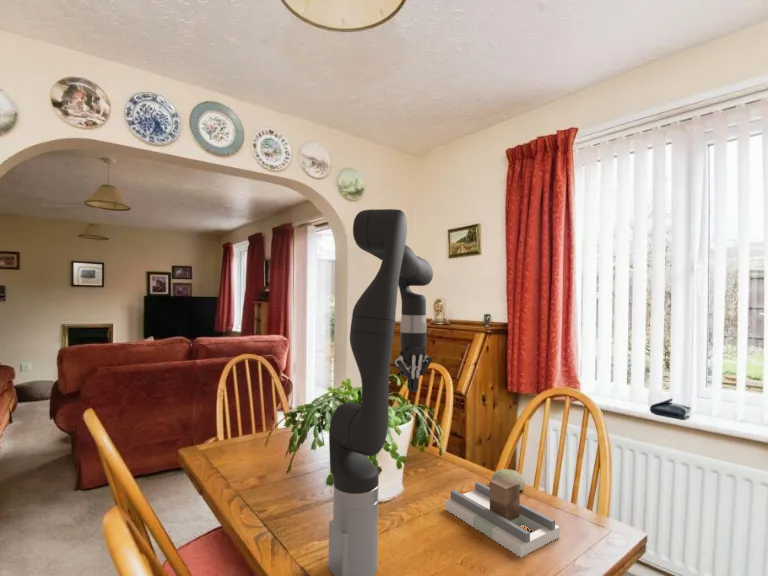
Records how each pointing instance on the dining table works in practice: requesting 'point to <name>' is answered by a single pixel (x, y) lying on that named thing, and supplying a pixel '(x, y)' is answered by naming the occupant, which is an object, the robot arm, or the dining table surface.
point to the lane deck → (503, 521)
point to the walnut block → (505, 498)
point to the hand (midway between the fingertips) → (412, 391)
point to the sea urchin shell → (510, 476)
